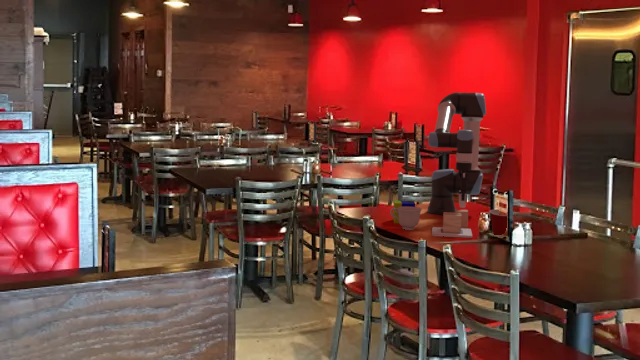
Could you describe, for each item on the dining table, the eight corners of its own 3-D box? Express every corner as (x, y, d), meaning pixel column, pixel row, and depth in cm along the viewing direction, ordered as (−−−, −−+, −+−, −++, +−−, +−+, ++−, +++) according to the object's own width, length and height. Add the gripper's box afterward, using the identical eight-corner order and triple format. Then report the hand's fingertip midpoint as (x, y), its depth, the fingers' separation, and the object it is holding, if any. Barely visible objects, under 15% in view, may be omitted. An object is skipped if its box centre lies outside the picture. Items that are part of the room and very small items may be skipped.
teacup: (391, 225, 393) (392, 205, 391) (422, 227, 390) (423, 207, 388) (388, 230, 381) (389, 209, 380) (420, 232, 378) (420, 210, 377)
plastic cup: (496, 240, 363) (497, 213, 361) (483, 235, 373) (484, 209, 371) (517, 239, 366) (518, 212, 365) (504, 234, 376) (505, 209, 375)
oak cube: (442, 229, 381) (443, 212, 380) (460, 229, 380) (460, 213, 379) (443, 232, 373) (443, 214, 372) (460, 232, 372) (461, 215, 371)
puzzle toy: (414, 223, 401) (415, 203, 399) (394, 223, 401) (395, 203, 400) (412, 220, 410) (413, 200, 409) (393, 219, 411) (393, 200, 409)
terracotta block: (454, 225, 399) (455, 209, 398) (467, 226, 398) (467, 209, 397) (454, 227, 393) (455, 211, 392) (467, 228, 392) (468, 211, 391)
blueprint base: (432, 229, 387) (432, 226, 387) (470, 230, 384) (470, 228, 384) (432, 235, 369) (432, 233, 369) (472, 237, 367) (472, 235, 366)
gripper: (455, 159, 404) (453, 201, 406) (456, 163, 380) (454, 208, 382) (470, 160, 403) (468, 202, 405) (473, 164, 379) (470, 209, 381)
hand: (461, 205), depth 394 cm, fingers open, 13 cm apart
